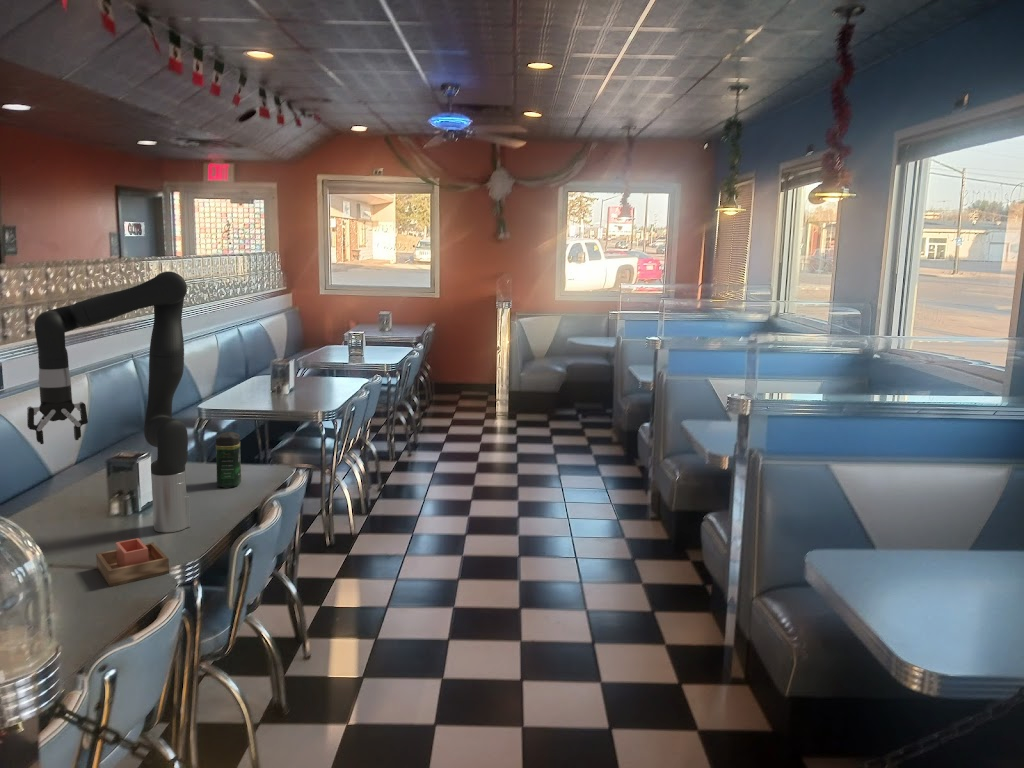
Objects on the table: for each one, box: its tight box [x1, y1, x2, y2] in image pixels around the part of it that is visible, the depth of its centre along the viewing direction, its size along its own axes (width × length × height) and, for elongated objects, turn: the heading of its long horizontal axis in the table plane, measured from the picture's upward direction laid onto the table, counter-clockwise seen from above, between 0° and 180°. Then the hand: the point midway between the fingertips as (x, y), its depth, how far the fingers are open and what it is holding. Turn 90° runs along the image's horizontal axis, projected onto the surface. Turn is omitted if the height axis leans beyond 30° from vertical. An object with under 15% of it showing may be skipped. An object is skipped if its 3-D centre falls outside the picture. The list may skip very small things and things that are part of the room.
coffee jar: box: [215, 431, 242, 489], centre depth 272 cm, size 10×8×19 cm
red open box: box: [115, 537, 149, 568], centre depth 199 cm, size 9×6×6 cm, turn 39°
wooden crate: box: [95, 541, 170, 587], centre depth 199 cm, size 14×14×4 cm
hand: (59, 441), depth 216 cm, fingers open, 8 cm apart
